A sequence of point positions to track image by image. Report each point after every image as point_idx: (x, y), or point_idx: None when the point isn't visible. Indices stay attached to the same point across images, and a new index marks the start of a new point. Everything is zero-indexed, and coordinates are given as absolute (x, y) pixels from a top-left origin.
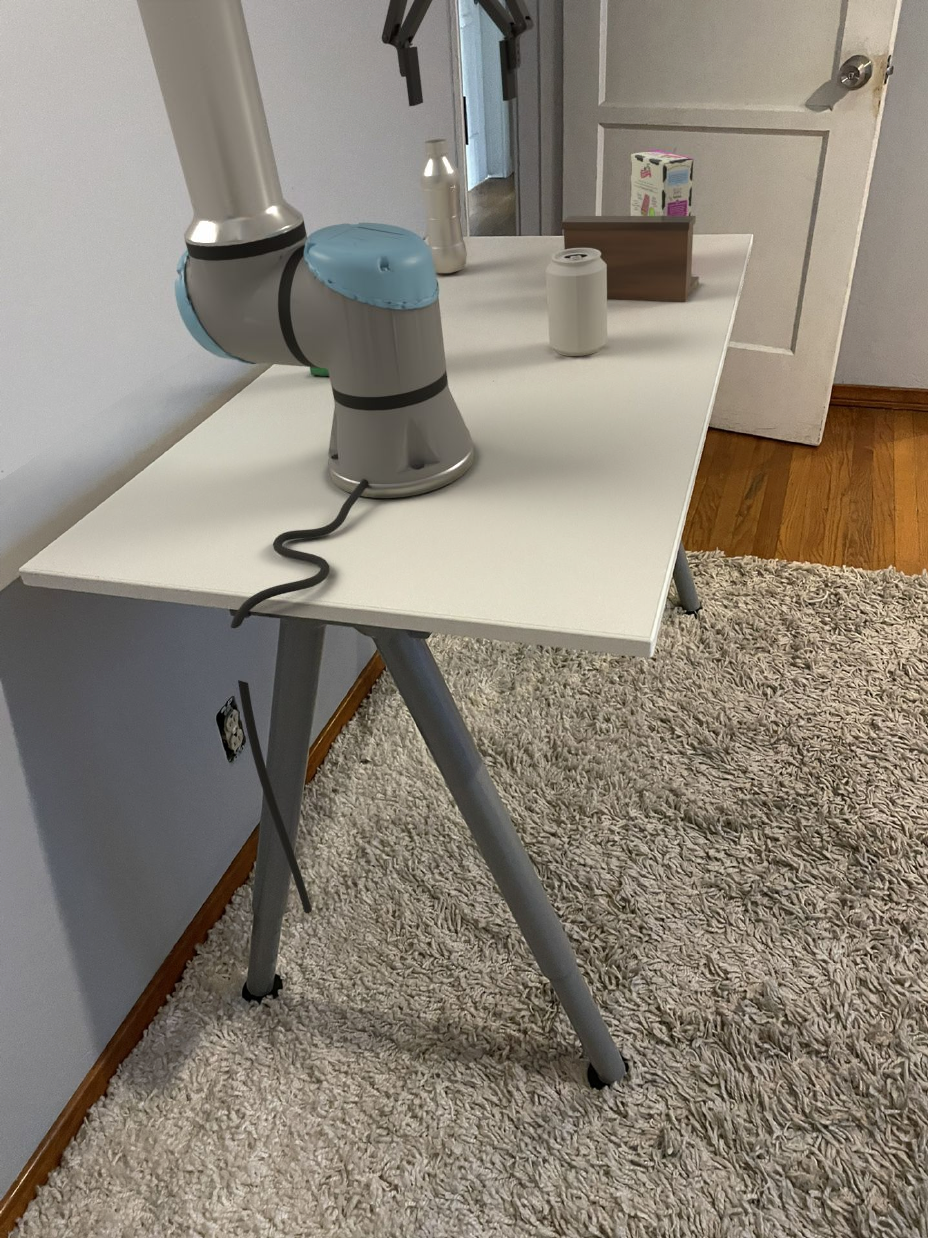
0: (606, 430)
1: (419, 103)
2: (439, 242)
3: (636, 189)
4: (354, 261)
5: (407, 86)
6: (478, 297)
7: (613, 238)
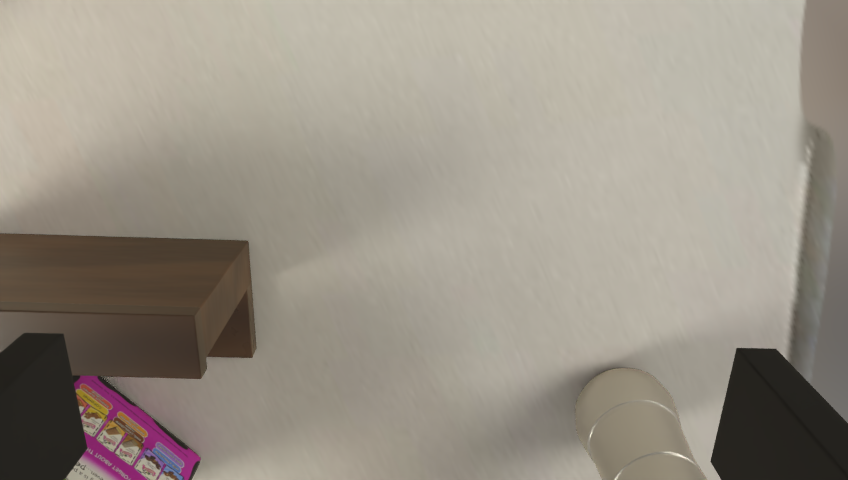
0: None
1: (721, 418)
2: (640, 409)
3: None
4: None
5: (842, 423)
6: (466, 225)
7: (61, 296)
